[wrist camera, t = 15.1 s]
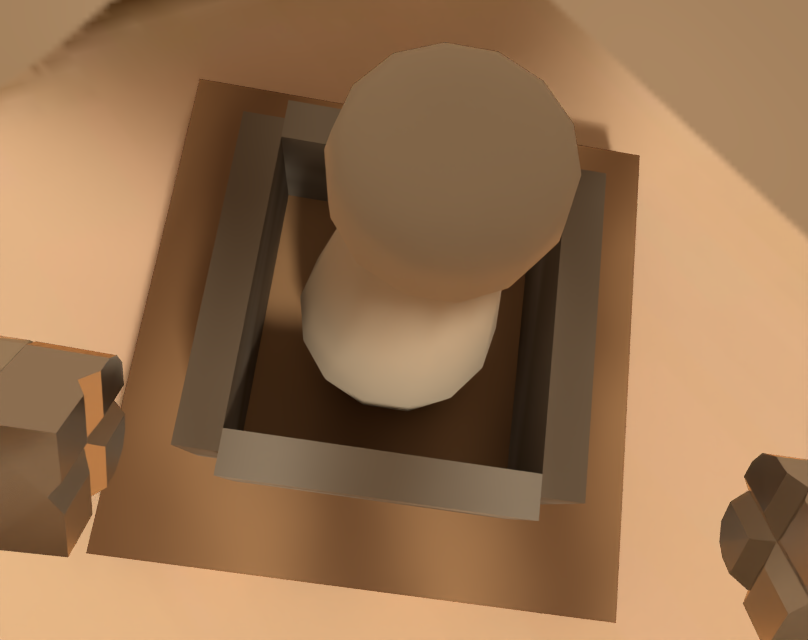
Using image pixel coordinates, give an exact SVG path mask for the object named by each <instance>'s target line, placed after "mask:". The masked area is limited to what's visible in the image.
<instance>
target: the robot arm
mask: <svg viewBox="0 0 808 640" xmlns="http://www.w3.org/2000/svg"><path fill="white" fill-rule="evenodd" d="M123 385H124V381H123V368H122V361H121V360H120V359H119V358H118V356H117V355H113V354H107V353H101V352H95V351H89V350H84V349H78V348H72V347H66V346H60V345H54V344H49V343H43V342H37V341H36V342H33V341H30V340H24V339H18V338H11V337H4V336H0V550H4V551H14V552H23V553H33V554H42V555H52V556H61V557H69V555H70V553H71V551H72V549H73V548H74V546H75V544H76V542H77V541H78V539H79V537H80V535H81V533H82V532H83V530H84V528H85V526H86V524H87V523H88V521H89V519H90V517H91V516H92V502H91V496H92V495H94V494H96V493H98V492H99V491H101V490H103V489H105V488H107V486H108V484H109V483H110V481H111V479H112V477H113V475H114V473H115V471H116V469H117V465H118V462H119V459H120V456H121V452H122V449H123V443H124V434H125V413H124V412H123V411H122V409H121V408H120V407H119V406H118V405H117V403H116V402H115V401H114V399H115V398H116V396H117V395H118V393H119V391H120V390H121V388H122V386H123ZM744 478H745V481H746V484H747V487H748V490H749V491H747V492H746V493H744V494H742V495H741V496H739V497H737V498H736V499H734V500H733V501H731V502H730V504H729V506H728V508H727V510H726V512H725V514H724V517H723V519H722V521H721V530H720V541H719V542H720V547H721V553H722V558H723V560H724V562H725V565H726V567H727V569H728V572H729V574H730V575H731V576H732V577H734V578H735V579H736V580H737V581H738V582H739V583H740V584H741V585H743V586H744V587H745V588H746V589H747V590H748V591H747V594H746V597H745V599H744V602H743V604H744V607H745V609H746V611H747V613H748V615H749V617H750V619H751V622H752V624H753V626H754V628H755V630H756V632H757V634H758V637H759V639H760V640H808V459H800V458H793V457H786V456H779V455H772V454H765V453H762V454H761V455H760V456H758V457H757V458H756V459H755V460H754V461H752V463H751V465H750V467H749V468H748V470H747V472H746V474H745V476H744Z"/></svg>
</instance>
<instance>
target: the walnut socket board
mask: <svg viewBox="0 0 808 640" xmlns="http://www.w3.org/2000/svg"><path fill="white" fill-rule="evenodd" d="M343 105H344V104H341V103H335V102H329V101H324V100H318V99H312V98H307V97H301V96H295V95H289V94H284V93H278V92H272V91H266V90H261V89H255V88H249V87H243V86H238V85H232V84H226V83H221V82H215V81H209V80H203V79H200V80H199V85H198V89H197V93H196V97H195V101H194V105H193V110H192V114H191V118H190V122H189V126H188V130H187V135H186V139H185V143H184V147H183V151H182V155H181V160H180V164H179V168H178V172H177V176H176V181H175V185H174V189H173V193H172V197H171V201H170V206H169V210H168V214H167V218H166V222H165V226H164V231H163V235H162V239H161V243H160V247H159V251H158V256H157V260H156V264H155V268H154V272H153V277H152V281H151V285H150V289H149V293H148V297H147V302H146V306H145V310H144V314H143V318H142V322H141V327H140V331H139V335H138V339H137V343H136V347H135V352H134V356H133V360H132V364H131V368H130V373H129V377H128V381H127V385H126V389H125V393H124V398H123V402H122V406H121V409H122V411H123V412H124V413H125V434H124V443H123V449H122V452H121V456H120V459H119V462H118V465H117V469H116V471H115V473H114V475H113V477H112V479H111V481H110V483H109V484H108V486H107V488H105V489H103V490H101V494H100V498H99V502H98V506H97V510H96V514H95V519H94V523H93V527H92V531H91V535H90V539H89V544H88V548H87V552H86V553H89V554H96V555H104V556H111V557H119V558H127V559H134V560H142V561H149V562H157V563H165V564H172V565H180V566H187V567H195V568H203V569H210V570H218V571H225V572H233V573H240V574H248V575H256V576H263V577H271V578H278V579H286V580H294V581H301V582H309V583H316V584H324V585H332V586H339V587H347V588H354V589H362V590H370V591H377V592H385V593H392V594H400V595H408V596H415V597H423V598H430V599H438V600H445V601H453V602H461V603H468V604H476V605H483V606H491V607H499V608H506V609H514V610H521V611H529V612H537V613H544V614H552V615H559V616H567V617H575V618H582V619H590V620H597V621H605V622H613V623H616V610H617V590H618V570H619V551H620V531H621V511H622V492H623V472H624V452H625V433H626V413H627V393H628V374H629V354H630V334H631V315H632V295H633V275H634V256H635V236H636V216H637V197H638V177H639V157H640V156H639V155H633V154H627V153H622V152H616V151H610V150H605V149H599V148H593V147H587V146H582V145H577V149H578V155H579V162H580V169H581V178H580V181H579V184H578V187H577V190H576V193H575V196H574V199H573V202H572V206H571V209H570V212H569V215H568V218H567V221H566V224H565V227H564V230H563V232H562V235H561V238H560V241H559V242H558V243H557V244H556V245H555V246H554V247H553V248H552V249H551V250H550V251H549V252H548V253H547V254H546V255H545V256H544V257H542V258H541V259H540V260H539V261H538V262H537V263H536V264H535V265H534V266H532V267H531V268H530V269H529V270H528V271H527V272H526V273H525V274H524V275H523V276H521V277H520V278H519V279H518V280H517V281H516V282H515V283H514V284H513V285H512V286H510V287H509V288H507V289H504V290H502V291H501V297H500V304H499V311H498V317H497V324H496V329H495V332H494V335H493V338H492V341H491V344H490V347H489V350H488V353H487V355H486V358H485V361H484V364H483V367H482V369H481V370H479V371H478V372H477V373H476V374H475V375H474V376H473V377H472V378H471V379H470V380H469V381H468V382H467V383H466V384H465V385H464V386H463V387H462V388H460V389H459V390H458V391H457V392H456V393H455V394H454V395H453V396H452V397H451V398H449V399H446V400H442V401H439V402H436V403H433V404H430V405H426V406H423V407H420V408H417V409H414V410H410V411H401V410H394V409H388V408H381V407H375V406H368V405H363V404H361V403H360V402H358V401H357V400H355V399H354V398H352V397H351V396H349V395H348V394H347V393H345V392H344V391H342V390H341V389H339V388H338V387H336V386H335V385H333V384H332V383H330V382H329V381H327V380H326V379H325V378H324V376H323V374H322V373H321V371H320V369H319V367H318V365H317V364H316V362H315V360H314V358H313V357H312V355H311V353H310V351H309V349H308V348H307V346H306V344H305V342H304V340H303V329H302V314H301V299H300V296H301V294H302V292H303V289H304V287H305V285H306V283H307V281H308V279H309V276H310V274H311V272H312V270H313V268H314V266H315V264H316V261H317V259H318V257H319V256H320V254H321V253H322V251H323V249H324V248H325V246H326V245H327V243H328V242H329V240H330V238H331V237H332V235H333V234H334V232H335V231H336V229H337V228H336V226H335V225H334V223H333V221H332V220H331V218H330V211H329V204H328V192H327V180H326V167H325V154H324V148H325V146H326V143H327V140H328V138H329V135H330V132H331V130H332V128H333V126H334V123H335V121H336V119H337V117H338V115H339V113H340V111H341V109H342V107H343Z"/></svg>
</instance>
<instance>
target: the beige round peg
mask: <svg viewBox="0 0 808 640" xmlns="http://www.w3.org/2000/svg"><path fill="white" fill-rule="evenodd" d="M324 154H325V167H326V180H327V192H328V204H329V211H330V218H331V220H332V221H333V223H334V225H335V226H336V228H337V229H336V231H335V232H334V234H333V235H332V237H331V238H330V240H329V242H328V243H327V245H326V246H325V248H324V249H323V251H322V253H321V254H320V256H319V257H318V259H317V261H316V264H315V266H314V268H313V270H312V272H311V274H310V276H309V279H308V281H307V283H306V285H305V287H304V289H303V292H302V294H301V296H300V299H301V314H302V329H303V340H304V342H305V344H306V346H307V348H308V349H309V351H310V353H311V355H312V357H313V358H314V360H315V362H316V364H317V365H318V367H319V369H320V371H321V373H322V374H323V376H324V378H325V379H326V380H327V381H329V382H330V383H332V384H333V385H335V386H336V387H338V388H339V389H341V390H342V391H344V392H345V393H347V394H348V395H349V396H351V397H352V398H354V399H355V400H357V401H358V402H360V403H361V404H363V405H368V406H375V407H381V408H388V409H394V410H401V411H410V410H414V409H417V408H420V407H423V406H426V405H430V404H433V403H436V402H439V401H442V400H446V399H449V398H451V397H452V396H453V395H454V394H455V393H456V392H457V391H458V390H459V389H460V388H462V387H463V386H464V385H465V384H466V383H467V382H468V381H469V380H470V379H471V378H472V377H473V376H474V375H475V374H476V373H477V372H478V371H479V370H481V369H482V367H483V364H484V361H485V358H486V355H487V353H488V350H489V347H490V344H491V341H492V338H493V335H494V332H495V329H496V324H497V317H498V311H499V304H500V297H501V291H502V290H504V289H507V288H509V287H510V286H512V285H513V284H514V283H515V282H516V281H517V280H518V279H519V278H520V277H521V276H523V275H524V274H525V273H526V272H527V271H528V270H529V269H530V268H531V267H532V266H534V265H535V264H536V263H537V262H538V261H539V260H540V259H541V258H542V257H544V256H545V255H546V254H547V253H548V252H549V251H550V250H551V249H552V248H553V247H554V246H555V245H556V244H557V243H558V242H559V241H560V238H561V235H562V232H563V230H564V227H565V224H566V221H567V218H568V215H569V212H570V209H571V206H572V202H573V199H574V196H575V193H576V190H577V187H578V184H579V181H580V178H581V169H580V162H579V155H578V149H577V142H576V135H575V128H574V124H573V122H572V121H571V120H570V118H569V117H568V115H567V114H566V112H565V111H564V110H563V108H562V107H561V105H560V104H559V102H558V101H557V100H556V98H555V97H554V95H553V94H552V92H551V91H550V90H549V88H548V87H547V85H546V84H545V82H544V81H543V80H541V79H539V78H538V77H536V76H535V75H533V74H532V73H530V72H529V71H527V70H526V69H524V68H523V67H521V66H520V65H518V64H517V63H515V62H513V61H512V60H510V59H509V58H507V57H506V56H504V55H503V54H501V53H500V52H498V51H492V50H486V49H480V48H475V47H469V46H463V45H457V44H452V43H446V42H444V43H439V44H435V45H430V46H425V47H420V48H415V49H411V50H406V51H401V52H396V53H393V54H391V55H390V56H389V57H388V58H386V59H385V60H384V61H383V62H381V63H380V64H379V65H377V66H376V67H375V68H374V69H372V70H371V71H370V72H369V73H367V74H366V75H365V76H364V77H362V78H361V79H360V80H358V81H357V82H356V83H355V84H353V86H352V88H351V90H350V92H349V94H348V96H347V98H346V100H345V102H344V105H343V107H342V109H341V111H340V113H339V115H338V117H337V119H336V121H335V123H334V126H333V128H332V130H331V132H330V135H329V138H328V140H327V143H326V146H325V148H324Z"/></svg>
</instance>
